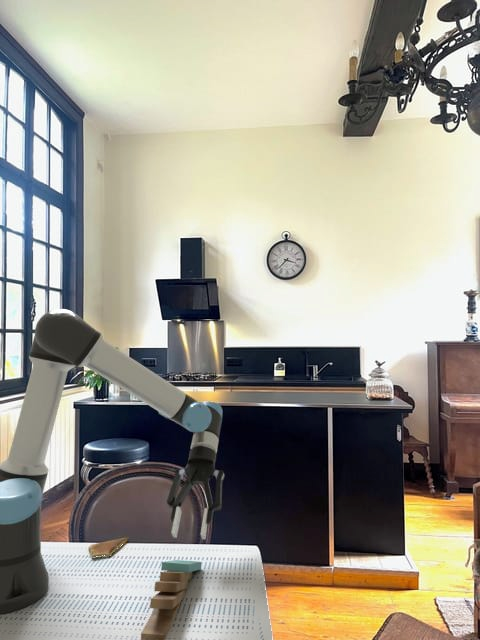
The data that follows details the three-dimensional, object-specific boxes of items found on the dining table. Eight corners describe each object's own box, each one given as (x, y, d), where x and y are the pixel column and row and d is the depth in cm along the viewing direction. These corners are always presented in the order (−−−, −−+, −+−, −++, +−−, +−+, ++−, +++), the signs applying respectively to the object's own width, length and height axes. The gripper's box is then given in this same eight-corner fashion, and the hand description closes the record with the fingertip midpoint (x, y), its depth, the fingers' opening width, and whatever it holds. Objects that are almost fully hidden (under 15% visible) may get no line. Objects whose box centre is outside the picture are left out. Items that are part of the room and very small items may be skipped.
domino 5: (159, 607, 93) (141, 642, 82) (159, 599, 93) (141, 633, 82) (180, 608, 93) (163, 644, 82) (180, 600, 93) (163, 635, 82)
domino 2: (173, 577, 104) (159, 580, 94) (174, 569, 104) (160, 572, 95) (191, 578, 103) (179, 581, 93) (192, 570, 104) (180, 573, 94)
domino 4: (164, 596, 96) (150, 608, 86) (164, 588, 96) (150, 598, 86) (184, 597, 95) (172, 609, 85) (184, 589, 96) (172, 599, 86)
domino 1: (175, 567, 108) (161, 570, 99) (176, 559, 109) (162, 562, 99) (200, 569, 107) (188, 572, 98) (201, 561, 108) (189, 564, 98)
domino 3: (168, 586, 100) (154, 591, 90) (169, 578, 100) (155, 582, 91) (187, 587, 99) (175, 592, 89) (188, 579, 100) (176, 583, 90)
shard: (128, 541, 124) (128, 535, 124) (135, 553, 117) (135, 546, 117) (88, 550, 119) (88, 543, 119) (92, 563, 112) (92, 556, 112)
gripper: (239, 459, 126) (229, 544, 109) (172, 458, 129) (153, 540, 112) (235, 445, 121) (225, 531, 104) (166, 443, 124) (146, 527, 107)
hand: (188, 536), depth 108 cm, fingers open, 7 cm apart
